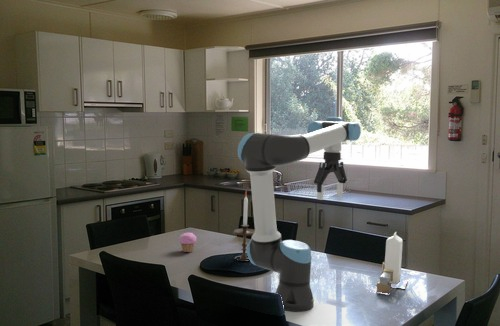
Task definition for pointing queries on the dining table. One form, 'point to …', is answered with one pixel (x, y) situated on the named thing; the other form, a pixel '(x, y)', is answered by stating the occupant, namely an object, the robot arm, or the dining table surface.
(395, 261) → the milk
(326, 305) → the dining table surface
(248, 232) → the candlestick
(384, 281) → the shaft rig
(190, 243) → the cupcake
